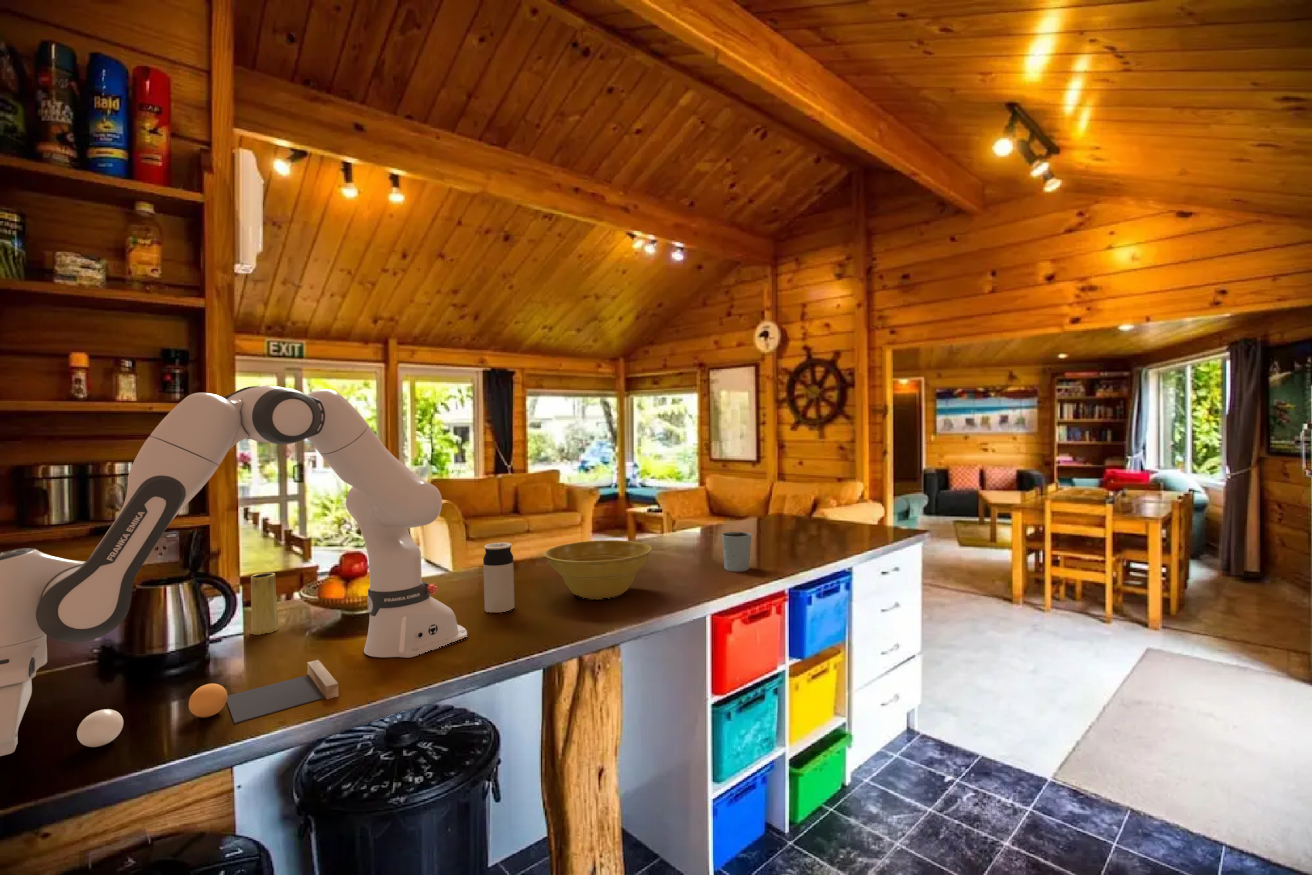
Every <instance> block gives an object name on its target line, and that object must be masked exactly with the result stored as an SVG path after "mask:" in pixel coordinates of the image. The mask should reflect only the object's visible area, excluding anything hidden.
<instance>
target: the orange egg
mask: <svg viewBox="0 0 1312 875" xmlns="http://www.w3.org/2000/svg"><path fill="white" fill-rule="evenodd" d="M227 696H228V692H227V689H226V688H225V687H224V686H223V685H221V684H218V683H207V684H204V685H201V686H200V687H198V688H196V690H194V692H192V694H191V695H190V698H189V700H188V708H189V711H190V713H191V714H193V715H194V716H196V717H199V718H210V717H212V716H214V715H216V714H219V712H220V711H221V710H223V708H224V707H225V705H226V704H227Z"/></svg>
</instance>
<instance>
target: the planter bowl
mask: <svg viewBox="0 0 1312 875" xmlns="http://www.w3.org/2000/svg"><path fill="white" fill-rule="evenodd" d="M652 551H653V547H652V546H651V545H650V544H648V543H644V542H639V541H632V540H619V539H618V540H616V539H614V540H611V539H610V540H609V539H608V540H607V539H605V540H602V539H601V540H588V541H586V540H585V541H577V542H570V543H567V544H566V543H565V544H560V545H557V546H554V547H550V548H549V549H547V550H545V552H544V553H543V556H544V557H545V558H547V559H548V561H549V564H550V566H551V567H552V569H553V571H555V572H557V573H558V574H559V575H560V576H561V577H562V579H563V581H564V583H565V585H566V586H567V588H568V589H569V590H570V592H571V593H572V594H574V595H576V596H577V595H578V596H580V597H583V598H582V599H584V598H591V599H590V600H594V599H595V600H603V599H602V598H608V599H611V598H610V597H613V598H615V597H614V596H617V595H620V596H622V595H623V594H624V593H625V592H626V591H628V590H629V589H630V587H631V585H632V583H633V582H634V580H635V577H636V575H637V572H638V571H639V570H640V569H641V568H643V567H644V566H645V565H646V562H647V560H648V557H649V554H650V553H652ZM621 594H622V595H621ZM578 596H577V597H578ZM580 597H579V598H580ZM617 597H618V596H617Z"/></svg>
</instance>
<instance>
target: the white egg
mask: <svg viewBox="0 0 1312 875" xmlns="http://www.w3.org/2000/svg"><path fill="white" fill-rule="evenodd" d="M123 727H124V718H123V716H122V715H121V713H120V712H118V711H117V710H114V709H110V708H107V709H105V708H104V709H100V710H96V711H93V712H92V713H89V715H87V716H86V717H85V718H84V719H82V721H81V722H80V723H79V726H78V727H77V731H76V736H77V740H78V742H80V744H81V745H83V746H86V747H89V748H97V747H102V746H105V745H107V744H109V743H111V742H112V741H114V740H115V739H116V738H117V737H118V736H119V735H120V733H121V731H122V730H123Z"/></svg>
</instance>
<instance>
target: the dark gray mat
mask: <svg viewBox="0 0 1312 875" xmlns="http://www.w3.org/2000/svg"><path fill="white" fill-rule="evenodd" d="M323 699H326V698H325V696H324V695H323V693H322V692H321V691H320V689H319V688H318V687H317V685H316V684H315V682H314V681H313V680H312V678H311V677H310V676H309V675H308V674H307V675H304V676H298V677H295V678H292V679H287V680H284V681H280V682H276V683H271V684H267V685H264V686H263V685H262V686H260V687H256V688H252V689H249V690H248V689H247V690H245V691H240V692H236V693H233V694H229V695H228V694H227V701H226V704H227V707H228V710H229V712H230V715H231V718H232V720H233V724H234V725H236V724H238V723H243V722H246V721H250V720H253V719H257V718H260V717H263V716H267V715H270V714H273V713H277V712H281V711H285V710H288V709H291V708H294V707H295V706H296V707H298V706H302V705H303V706H304V705H305V704H309V703H312V702H317V701H321V700H323ZM249 719H250V720H249Z"/></svg>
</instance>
